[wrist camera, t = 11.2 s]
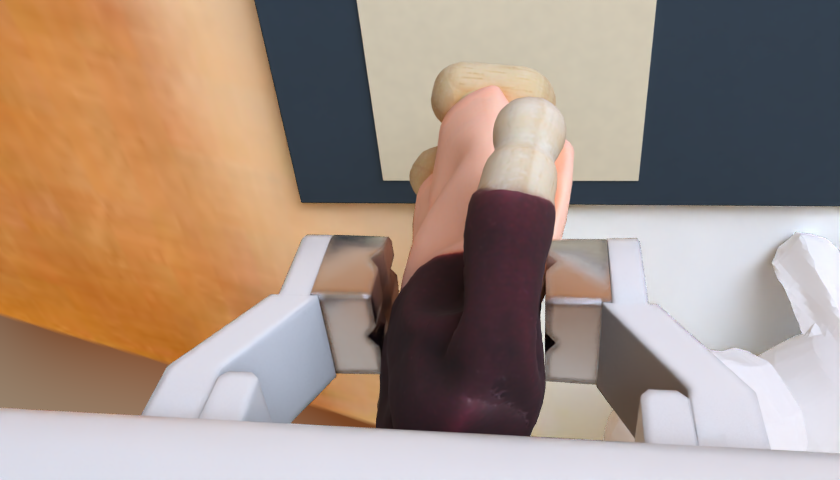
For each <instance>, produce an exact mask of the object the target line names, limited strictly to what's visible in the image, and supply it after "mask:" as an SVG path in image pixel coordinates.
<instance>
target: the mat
mask: <svg viewBox="0 0 840 480" xmlns="http://www.w3.org/2000/svg"><path fill="white" fill-rule="evenodd" d="M254 1H255V5H256V9H257V13H258V18H259V22H260V26H261V31H262V35H263V39H264V44H265V48H266V52H267V57H268V61H269V65H270V70H271V74H272V78H273V82H274V87H275V91H276V95H277V100H278V104H279V108H280V113H281V117H282V121H283V126H284V130H285V134H286V139H287V143H288V147H289V151H290V156H291V160H292V164H293V169H294V173H295V177H296V182H297V186H298V190H299V195H300V199H301V202H302V203H416V198H417V195H416V193H415V192H414V191H413V188H412V186H411V184H410V178H409V175H410V170H411V168H412V166H413V164H414V162H415V161H416V159H417V158H418V156H419V155H420V154H421V153H422V152H423V151H425V150H427V149H429V148H433V147H436V146H438V138H439V131H440V126H441V124H442V123H441V122H440V121H439V120H438V119H437V118H436V116H435V114H434V112H433V109H432V105H431V96H432V91H433V86H434V82H435V80H436V78H437V76H438V74H439V73H440V72H441V71H442V70H443V69H444V68H446V67H447V66H449V65H451V64H455V63H459V62H480V63H488V64H507V65H516V66H524V67H528V68H531V69H534V70H536V71H538V72H539V73H541V74H542V75H543V76H545V77H546V78H547V79H548V80H549V82H550V83H551V85H552V87H553V90H554V93H555V96H556V107H557V108H558V109H559V111H560V112H561V114H562V116H563V117H564V120H565V124H566V140H567V141H569V142H570V144H571V145H572V146H573V148H574V162H573V182H572V188H571V195H570V202H569V204H585V205H735V206H840V0H254Z"/></svg>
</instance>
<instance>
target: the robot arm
mask: <svg viewBox="0 0 840 480" xmlns="http://www.w3.org/2000/svg"><path fill="white" fill-rule="evenodd" d="M393 257H394V253H393V247H392V241H391V239H390V238H389V237H380V236H350V235H334V236H333V235H306V236H305V237H304V238H303V239H302V240H301V242H300V245H299V247H298V249H297V252H296V254H295V257H294V259H293V261H292V264H291V266H290V268H289V271H288V273H287V276H286V278H285V280H284V283H283V285H282V288H281V290H280V292H279V294H271V295H269V296H268V297H266V298H265V299H264V300H262V301H261V302H259V303H258V304H256V305H255V306H253V307H252V308H251V309H249V310H248V311H246V312H245V313H243V314H242V315H240V316H239V317H238V318H236V319H235V320H233V321H232V322H230V323H229V324H227V325H226V326H225V327H223V328H222V329H220V330H219V331H217V332H216V333H214V334H213V335H212V336H210V337H209V338H207V339H206V340H204V341H203V342H201V343H200V344H199V345H197V346H196V347H194V348H193V349H191V350H190V351H189V352H187V353H186V354H184V355H183V356H181V357H180V358H178V359H177V360H176V361H174V362H173V363H171V364H170V365H168V366H167V367H166V369H165V371H164V373H163V375H162V377H161V379H160V381H159V382H158V384H157V387H156V388H155V390H154V392H153V394H152V396H151V398H150V400H149V401H148V403H147V405H146V407H145V409H144V411H143V412H142V415H124V414H123V415H122V414H105V413H88V412H87V413H86V412H69V411H51V410H32V409H15V408H0V480H840V453H826V452H808V451H789V450H771V447H770V444H769V440H768V436H767V432H766V428H765V425H764V421H763V417H762V413H761V409H760V406H759V402H758V398H757V394H756V392H755V391H754V390H753V389H752V388H750V387H749V386H748V385H747V384H746V383H745V382H744V381H743V380H742V379H740V378H739V377H738V376H737V375H736V374H735V373H734V372H733V371H731V370H730V369H729V368H728V367H727V366H726V365H725V364H724V363H723V362H721V361H720V360H719V359H718V358H717V357H716V356H715V355H714V354H713V353H711V352H710V351H709V350H708V349H707V348H706V347H705V346H704V345H703V344H701V343H700V342H699V341H698V340H697V339H696V338H695V337H694V336H692V335H691V334H690V333H689V332H688V331H687V330H686V329H685V328H684V327H682V326H681V325H680V324H679V323H678V322H677V321H676V320H675V319H674V318H672V317H671V316H670V315H669V314H668V313H667V312H666V311H665V310H663V309H662V308H661V307H660V306H659V305H658V304H649V303H648V296H647V289H646V282H645V275H644V268H643V261H642V254H641V247H640V241H639V240H638V239H637V238H612V239H607V240H605V239H552V243H551V247H550V250H549V253H548V256H547V259H546V298H545V381H552V382H567V383H582V384H597V388H598V389H599V391H600V392H601V393H602V395H603V396H604V398H605V399H606V400H607V402H608V403H609V404H610V406H611V407H612V408H613V410H614V411H615V412H616V414H617V415H618V417H619V418H620V419H621V421H622V422H623V423H624V425H625V426H626V427H627V429H628V430H629V431H630V433H631V434H632V436H633V437H634V438H635V441H634V442H621V441H603V440H585V439H567V438H549V437H531V436H513V435H495V434H477V433H458V432H439V431H420V430H401V429H382V428H364V427H345V426H326V425H306V424H290V423H291V422H292V421H293V420H294V419H295V418H296V417H297V416H298V415H299V414H300V413H301V412H302V411H303V410H304V409H305V408H306V407H307V406H308V405H309V404H310V403H311V402H312V401H313V400H314V399H315V398H316V396H317V395H318V394H319V393H320V392H321V391H322V390H323V389H324V388H325V387H326V386H327V385H328V384H329V383H330V382H331V381H332V380H333V379H334V378H335V377H336V373H343V374H380V365H381V357H382V349H383V343H384V338H385V335H386V332H387V329H388V324H389V319H390V313H391V308H392V305H393V302H394V301H395V299H396V297H397V296H398V294H399V290H398V280H397V275H396V274H395V273H394V272H393V271H392V270H391V266H392V262H393Z"/></svg>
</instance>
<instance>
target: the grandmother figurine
mask: <svg viewBox="0 0 840 480" xmlns="http://www.w3.org/2000/svg"><path fill="white" fill-rule="evenodd" d="M431 105H432V109H433V112H434V114H435V116H436V118H437V119H438V120H439V121H440V122H441V123H442V124H441V126H440V131H439V138H438V146H436V147H433V148H429V149H427V150H425V151H423V152H422V153H421V154H420V155H419V156H418V158H417V159H416V161H415V162H414V164H413V166H412V168H411V170H410V175H409V178H410V184H411V186H412V188H413V191H414V192H415V193H416V195H417V198H416V204H415V210H414V217H413V243H412V247H411V250H410V253H409V257H408V260H407V264H406V268H405V271H404V275H403V279H402V285H401V291H400V293H399V294H398V296H397V297H396V299H395V301H394V302H393V305H392V308H391V313H390V319H389V324H388V329H387V332H386V335H385V338H384V343H383V349H382V357H381V365H380V395H379V400H378V404H377V408H378V411H377V418H376V428H382V429H401V430H420V431H439V432H458V433H477V434H495V435H513V436H530V435H531V432H532V429H533V427H534V426H535V424H536V422H537V419H538V416H539V413H540V410H541V407H542V404H543V399H544V393H545V365H544V352H543V343H542V333H541V322H540V311H541V303H542V301H543V298H544V296H545V294H546V259H547V256H548V253H549V250H550V247H551V243H552V239H561V238H562V235H563V231H564V228H565V224H566V220H567V214H568V209H569V202H570V195H571V188H572V182H573V162H574V148H573V146H572V145H571V144H570V142H569V141H567V140H566V124H565V120H564V117H563V116H562V114H561V112H560V111H559V109H558V108H557V107H556V96H555V93H554V90H553V87H552V85H551V83H550V82H549V80H548V79H547V78H546V77H545V76H543V75H542V74H541V73H539V72H538V71H536V70H534V69H531V68H528V67H524V66H516V65H507V64H488V63H480V62H459V63H455V64H451V65H449V66H447V67H446V68H444V69H443V70H442V71H441V72H440V73H439V74H438V76H437V78H436V80H435V82H434V86H433V91H432V96H431Z"/></svg>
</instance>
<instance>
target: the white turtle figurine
mask: <svg viewBox="0 0 840 480" xmlns="http://www.w3.org/2000/svg"><path fill="white" fill-rule="evenodd" d="M772 266H773V269H774V271H775V274H776V276H777V279H778V280H779V281H780V282H781V283H782V285H783V287H784V288H785V291H786V294H787V297H788V298H789V300H790V302H791V307H792V310H793V312H794V315H795V317H796V319H797V321H798V322H799V324H800V330H801V332H802V334H800V335H797V336H794V337H791V338H789V339H788V340H786V341H784V342H782V343H780V344H778V345H776V346H774V347H773V348H771V349H769V350H767V351H765V352H764V353H762V354H760V355H759V356H756V355H754V354H753V353H750V352H749V351H746V350H742V349H738V348H735V347H734V348H730V349H727V350H724V351H716V350H711V349H708V350H709V351H710V352H711V353H713V354H714V355H715V356H716V357H717V358H718V359H719V360H720V361H721V362H723V363H724V364H725V365H726V366H727V367H728V368H729V369H730V370H731V371H733V372H734V373H735V374H736V375H737V376H738V377H739V378H740V379H742V380H743V381H744V382H745V383H746V384H747V385H748V386H749V387H750V388H752V389H753V390H754V391H755V392H756V394H757V398H758V402H759V406H760V409H761V413H762V417H763V421H764V425H765V428H766V432H767V436H768V440H769V444H770V447H771V450H789V451H808V452H826V453H840V252H839V250H838V249H837V248H836V247H835V246H834V245H833V244H832V243H831V242H830V241H829V240H828V239H826V238H824V237H820V236H816V235H813V234H808V233H800V232H795V233H794V234H793V235H792V236H791V237H790V238H789V239H788V240H787V241H786V242H784V243H783V244H782V245H780V246H779V247H778V249H777V252H776V255H775V257H774V259H773V261H772ZM604 441H621V442H634V441H635V438H634V437H633V436H632V434H631V433H630V431H629V430H628V429H627V427H626V426H625V425H624V423H623V422H622V421H621V419H620V418H619V417H618V415H617V414H616V412H615V411H614V410H612V412H611V414H610V416H609V418H608V421H607V425H606V428H605V432H604Z"/></svg>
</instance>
